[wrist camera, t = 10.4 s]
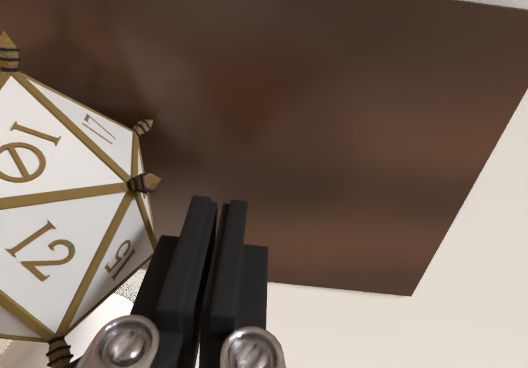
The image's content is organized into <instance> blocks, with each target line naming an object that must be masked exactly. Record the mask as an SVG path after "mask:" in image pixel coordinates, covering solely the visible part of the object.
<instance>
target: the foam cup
mask: <svg viewBox="0 0 528 368" xmlns="http://www.w3.org/2000/svg"><path fill="white" fill-rule="evenodd" d="M133 305H134V303H132V302H131V301H130V300H128V299H127V298H125V297H123V296H120V295H117V294H114V293H113V294H112V295H111V296H109V297H108V298H107V299H106V300H105V301H104V302H103V303H102V304H101V305H100V306H98V307H97V308H96V309H95V310H94V311H93V312H92V313H91V314H90V315H89V316H88V317H86V318H85V319H84V320H83V321H82V322H81V323H80V324H79V325H78V326H77V327H75V328H74V329H73V330H72V331H71V332H70V333H69V334H68V335H67V336H66V337H65V341H66V343H67V344H68V345H71V348H70V353H71V354H74V356H73V358H72V359H71V360H70V363H71V362H72V361H74V360H76V359H77V358H79V357H81V356H82V355H83V354H84V353H85V351H86V349H87V348H88V346H89V345H90V343H91V342H92V340H93V338H94V337H95V335H96V334H97V333H98V332H99V330H100V329H101V328H102V327H103V326H104V325H106V324H107V323H108V322H110V321H111V320H113V319H116V318H118V317H120V316H125V315H130V312H131V310H132V307H133ZM48 350H49V344H48V343H42V342H32V341H22V340H13V342H12V343H11V344H10V345H9V346H8V348H7V349H6V350H5V351H4V352H3V354H2V355H1V356H0V368H52V367H48V366H47V363H49V357H47V356H46V353H48Z"/></svg>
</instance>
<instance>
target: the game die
mask: <svg viewBox="0 0 528 368" xmlns="http://www.w3.org/2000/svg"><path fill="white" fill-rule="evenodd" d="M18 51H20V48H17V47H16V46H15V44H14V43H13V42H12V41H11V39H10V38H9V37H8V36H7V34H6V33H5V32H4V31H3V33H2V35H1V36H0V66H1V71H0V338H2V339H12V340H22V341H32V342H42V343H48V344H49V350H48V353H46V356H47V357H49V363H47V366H48V367H52V368H62V367H64V366H66V365H67V364H69V363H70V360H71V359H72V358H73V356H74V354H71V353H70V348H71V345H68V344H67V343H66V341H65V337H66V336H67V335H68V334H69V333H70V332H71V331H72V330H73V329H74V328H75V327H77V326H78V325H79V324H80V323H81V322H82V321H83V320H84V319H85V318H86V317H88V316H89V315H90V314H91V313H92V312H93V311H94V310H95V309H96V308H97V307H98V306H100V305H101V304H102V303H103V302H104V301H105V300H106V299H107V298H108V297H109V296H111V295H112V294H113V293H114V292H115V291H116V290H117V289H118V288H119V287H120V286H121V285H123V284H124V283H125V282H126V281H127V280H128V279H129V278H130V277H131V276H132V275H133V274H135V273H136V272H137V271H138V270H139V269H140V268H141V267H142V266H143V265H144V264H146V263H147V262H148V261H149V260H150V259H151V258H152V256H153V253H154V251H155V248H156V246H157V238H156V233H155V227H154V222H153V216H152V211H151V205H150V200H149V194H148V192H151V193H154V191H155V188H156V186H157V185H158V183H159V182H160V180H161V178H159V177H157V176H155V175H153V174H152V173H151V171H147V172H146V173H145V172H144V167H143V161H142V155H141V150H140V144H139V139H138V136H140V135H144V134H146V133H147V132H149V131H150V130H152V129H151V126H152V123H153V120H143V119H139V120H140V121H139V122H138V123H136V122H135V126H134V127H133V129H129V128H127V127H125V126H123V125H121V124H120V123H118V122H116V121H114V120H112V119H110V118H108V117H106V116H104V115H102V114H100V113H98V112H96V111H94V110H93V109H91V108H89V107H87V106H85V105H83V104H81V103H79V102H77V101H75V100H73V99H71V98H69V97H68V96H66V95H64V94H62V93H60V92H58V91H56V90H54V89H52V88H50V87H48V86H46V85H44V84H42V83H41V82H39V81H37V80H35V79H33V78H31V77H29V76H27V75H25V74H23V73H21V72H19V71H18V68H17V66H18V62H19V61H21V58H19V56H18Z"/></svg>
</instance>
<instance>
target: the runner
mask: <svg viewBox="0 0 528 368" xmlns="http://www.w3.org/2000/svg"><path fill="white" fill-rule="evenodd" d="M3 31H4V32H5V33H6V34H7V36H8V37H9V38H10V39H11V41H12V42H13V43H14V44H15V46H16V47H17V48H20V51H18V56H19V58H21V61H19V62H18V66H17V68H18V71H19V72H21V73H23V74H25V75H27V76H29V77H31V78H33V79H35V80H37V81H39V82H41V83H42V84H44V85H46V86H48V87H50V88H52V89H54V90H56V91H58V92H60V93H62V94H64V95H66V96H68V97H69V98H71V99H73V100H75V101H77V102H79V103H81V104H83V105H85V106H87V107H89V108H91V109H93V110H94V111H96V112H98V113H100V114H102V115H104V116H106V117H108V118H110V119H112V120H114V121H116V122H118V123H120V124H121V125H123V126H125V127H127V128H129V129H133V127H134V126H135V122H136V123H138V122H139V121H140V120H139V119H143V120H153V123H152V126H151V129H152V130H150V131H149V132H147V133H146V134H144V135H140V136H138V139H139V144H140V150H141V155H142V161H143V167H144V172H145V173H146V172H147V171H151V173H152V174H153V175H155V176H157V177H159V178H161V180H160V182H159V183H158V185H157V186H156V188H155V191H154V193H151V192H148V194H149V200H150V205H151V211H152V216H153V222H154V227H155V233H156V238H157V243H158V241H159V238H160V237H161V235H168V236H177V237H179V236H180V233H181V230H182V227H183V224H184V221H185V218H186V215H187V212H188V209H189V206H190V203H191V199H192V197H193V195H199V196H208V197H212V202H218V211H217V227H216V235H217V231H218V226H219V221H220V216H221V211H222V206H223V203H227V204H230V200H231V199H234V200H242V201H248V207H247V216H246V225H245V235H244V244H249V245H258V246H267V247H268V274H267V282H275V283H285V284H294V285H304V286H314V287H324V288H334V289H343V290H353V291H363V292H373V293H383V294H392V295H402V296H412V294H413V292H414V290H415V289H416V287H417V285H418V283H419V281H420V280H421V278H422V276H423V274H424V273H425V271H426V269H427V267H428V265H429V264H430V262H431V260H432V258H433V256H434V255H435V253H436V251H437V249H438V248H439V246H440V244H441V242H442V240H443V239H444V237H445V235H446V233H447V232H448V230H449V228H450V226H451V224H452V223H453V221H454V219H455V217H456V215H457V214H458V212H459V210H460V208H461V207H462V205H463V203H464V201H465V199H466V198H467V196H468V194H469V192H470V190H471V189H472V187H473V185H474V183H475V182H476V180H477V178H478V176H479V174H480V173H481V171H482V169H483V167H484V165H485V164H486V162H487V160H488V158H489V157H490V155H491V153H492V151H493V149H494V148H495V146H496V144H497V142H498V140H499V139H500V137H501V135H502V133H503V132H504V130H505V128H506V126H507V124H508V123H509V121H510V119H511V117H512V115H513V114H514V112H515V110H516V108H517V107H518V105H519V103H520V101H521V99H522V98H523V96H524V94H525V92H526V90H527V89H528V10H525V9H518V8H510V7H503V6H496V5H489V4H481V3H474V2H467V1H459V0H0V36H1V35H2V33H3ZM0 71H1V66H0ZM150 261H151V259H150V260H149V261H148V262H147V263H146V264H144V265H143V266H142V267H141V268H140V269H148V266H149V264H150Z"/></svg>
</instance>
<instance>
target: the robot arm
mask: <svg viewBox="0 0 528 368" xmlns="http://www.w3.org/2000/svg"><path fill="white" fill-rule="evenodd" d="M247 207H248V201H242V200H234V199H231V200H230V204H227V203H223V206H222V211H221V216H220V221H219V226H218V231H217V235H216V227H217V211H218V202H212V197H208V196H199V195H193V197H192V199H191V203H190V206H189V209H188V212H187V215H186V218H185V221H184V224H183V227H182V230H181V233H180V236H179V237H177V236H168V235H161V237H160V238H159V241H158V243H157V246H156V248H155V251H154V253H153V256H152V258H151V261H150V264H149V266H148V269H147V271H146V274H145V276H144V279H143V282H142V284H141V287H140V289H139V292H138V294H137V297H136V300H135V302H134V305H133V307H132V310H131V312H130V315H125V316H120V317H118V318H116V319H113V320H111V321H110V322H108V323H107V324H106V325H104V326H103V327H102V328H101V329H100V330H99V332H98V333H97V334H96V335H95V337H94V338H93V340H92V342H91V343H90V345H89V346H88V348H87V349H86V351H85V353H84V354H83V355H82V356H81V357H79V358H77V359H76V360H74V361H72V362H71V363H69V364H67V365H66V366H64V367H62V368H195V364H196V359H197V354H198V349H199V343H200V356H199V368H286V365H285V359H284V353H283V350H282V347H281V344H280V343H279V342H278V340H277V339H276V337H275V336H274V335H272V334H271V333H270V332H269V331H267V330H266V308H267V274H268V247H267V246H258V245H249V244H244V235H245V225H246V216H247Z"/></svg>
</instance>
